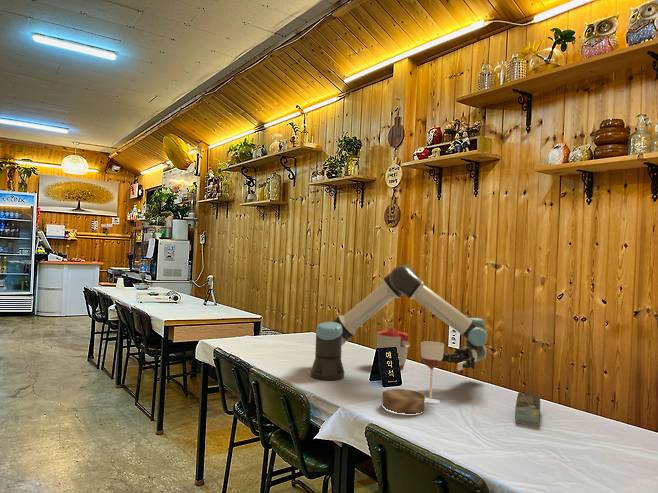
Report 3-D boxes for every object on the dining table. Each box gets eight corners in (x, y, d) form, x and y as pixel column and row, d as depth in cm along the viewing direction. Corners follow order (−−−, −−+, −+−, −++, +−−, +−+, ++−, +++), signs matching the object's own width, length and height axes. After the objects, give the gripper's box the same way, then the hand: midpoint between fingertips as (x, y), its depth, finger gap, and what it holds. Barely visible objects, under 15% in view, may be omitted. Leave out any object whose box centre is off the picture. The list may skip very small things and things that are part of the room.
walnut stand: (389, 416, 168) (389, 401, 168) (377, 402, 183) (377, 389, 183) (430, 415, 170) (431, 401, 170) (415, 402, 185) (416, 388, 185)
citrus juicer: (398, 374, 227) (399, 331, 228) (368, 366, 239) (370, 326, 239) (416, 369, 239) (417, 328, 239) (387, 362, 251) (388, 323, 251)
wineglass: (445, 399, 189) (447, 343, 190) (436, 405, 181) (439, 346, 182) (424, 395, 194) (426, 340, 194) (414, 401, 186) (417, 343, 186)
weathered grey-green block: (513, 423, 166) (514, 403, 167) (517, 407, 184) (517, 390, 184) (539, 427, 163) (539, 407, 163) (540, 411, 181) (540, 393, 181)
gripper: (493, 370, 202) (471, 379, 186) (438, 360, 218) (414, 367, 202) (493, 352, 202) (472, 360, 186) (438, 343, 218) (414, 349, 202)
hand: (442, 364), depth 194 cm, fingers open, 13 cm apart
